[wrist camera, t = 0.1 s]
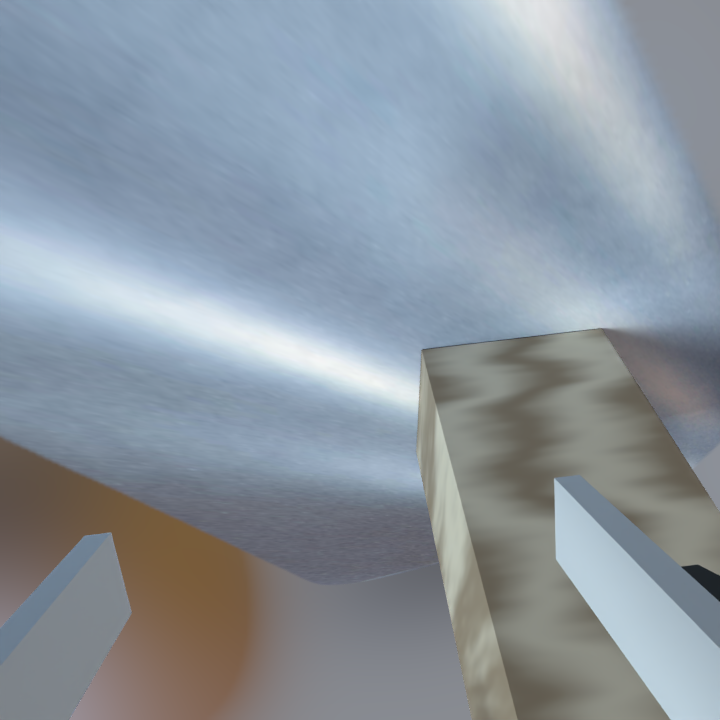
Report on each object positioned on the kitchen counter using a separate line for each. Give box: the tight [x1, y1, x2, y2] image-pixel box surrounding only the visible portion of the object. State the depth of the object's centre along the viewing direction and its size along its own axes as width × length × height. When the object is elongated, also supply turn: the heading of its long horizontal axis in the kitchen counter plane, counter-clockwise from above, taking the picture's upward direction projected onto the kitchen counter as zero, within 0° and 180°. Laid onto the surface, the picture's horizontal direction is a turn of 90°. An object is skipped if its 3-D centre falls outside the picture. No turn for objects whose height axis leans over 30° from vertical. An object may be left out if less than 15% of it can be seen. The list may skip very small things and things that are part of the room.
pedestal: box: [416, 329, 720, 720], centre depth 26 cm, size 12×14×28 cm
